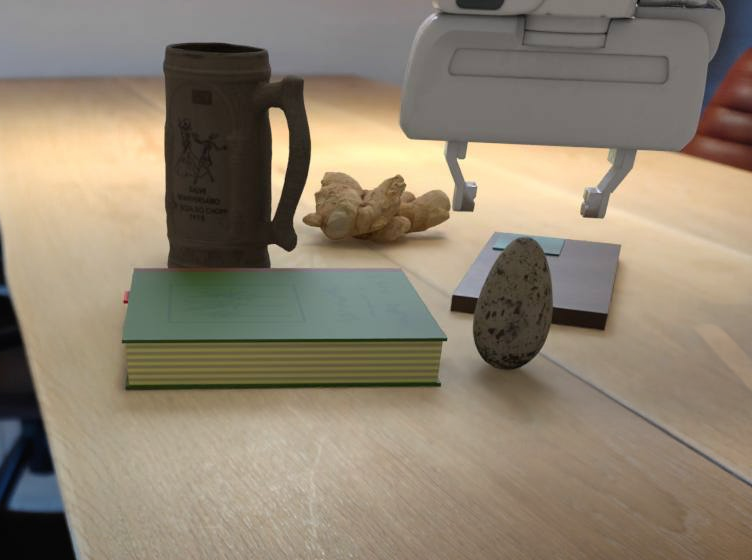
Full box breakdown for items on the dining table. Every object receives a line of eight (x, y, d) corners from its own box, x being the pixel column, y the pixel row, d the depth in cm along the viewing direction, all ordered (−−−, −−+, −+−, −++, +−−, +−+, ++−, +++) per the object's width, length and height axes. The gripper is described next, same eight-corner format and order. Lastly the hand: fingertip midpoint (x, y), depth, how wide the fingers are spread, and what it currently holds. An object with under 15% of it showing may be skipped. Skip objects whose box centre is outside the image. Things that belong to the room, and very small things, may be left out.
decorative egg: (548, 382, 71) (577, 248, 65) (473, 381, 71) (494, 246, 65) (532, 355, 76) (557, 228, 70) (461, 354, 76) (480, 226, 70)
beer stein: (142, 275, 92) (141, 41, 80) (188, 249, 100) (194, 33, 88) (282, 305, 89) (304, 66, 76) (318, 277, 97) (344, 56, 84)
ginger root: (267, 225, 104) (281, 148, 101) (339, 236, 116) (354, 166, 113) (382, 255, 97) (401, 172, 93) (446, 263, 109) (465, 190, 106)
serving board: (492, 245, 105) (494, 229, 104) (618, 258, 101) (621, 242, 100) (449, 310, 85) (452, 292, 84) (604, 330, 82) (608, 311, 81)
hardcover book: (396, 309, 85) (401, 268, 83) (440, 386, 70) (447, 338, 68) (128, 310, 83) (125, 268, 81) (115, 389, 69) (111, 339, 66)
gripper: (718, -14, 60) (658, 210, 69) (411, -26, 61) (388, 197, 70) (751, -11, 55) (682, 231, 64) (415, -24, 56) (391, 216, 65)
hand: (526, 213), depth 67 cm, fingers open, 8 cm apart
